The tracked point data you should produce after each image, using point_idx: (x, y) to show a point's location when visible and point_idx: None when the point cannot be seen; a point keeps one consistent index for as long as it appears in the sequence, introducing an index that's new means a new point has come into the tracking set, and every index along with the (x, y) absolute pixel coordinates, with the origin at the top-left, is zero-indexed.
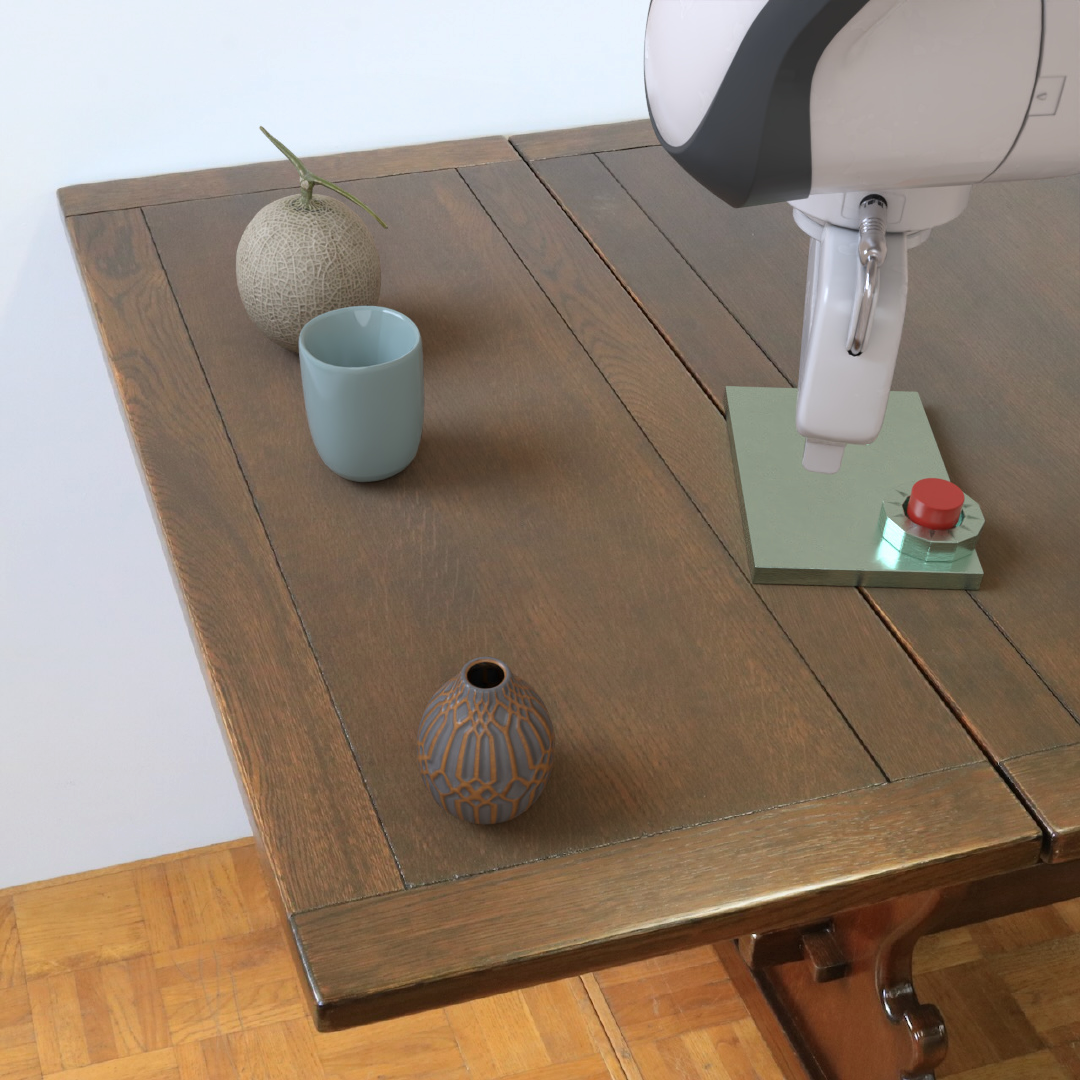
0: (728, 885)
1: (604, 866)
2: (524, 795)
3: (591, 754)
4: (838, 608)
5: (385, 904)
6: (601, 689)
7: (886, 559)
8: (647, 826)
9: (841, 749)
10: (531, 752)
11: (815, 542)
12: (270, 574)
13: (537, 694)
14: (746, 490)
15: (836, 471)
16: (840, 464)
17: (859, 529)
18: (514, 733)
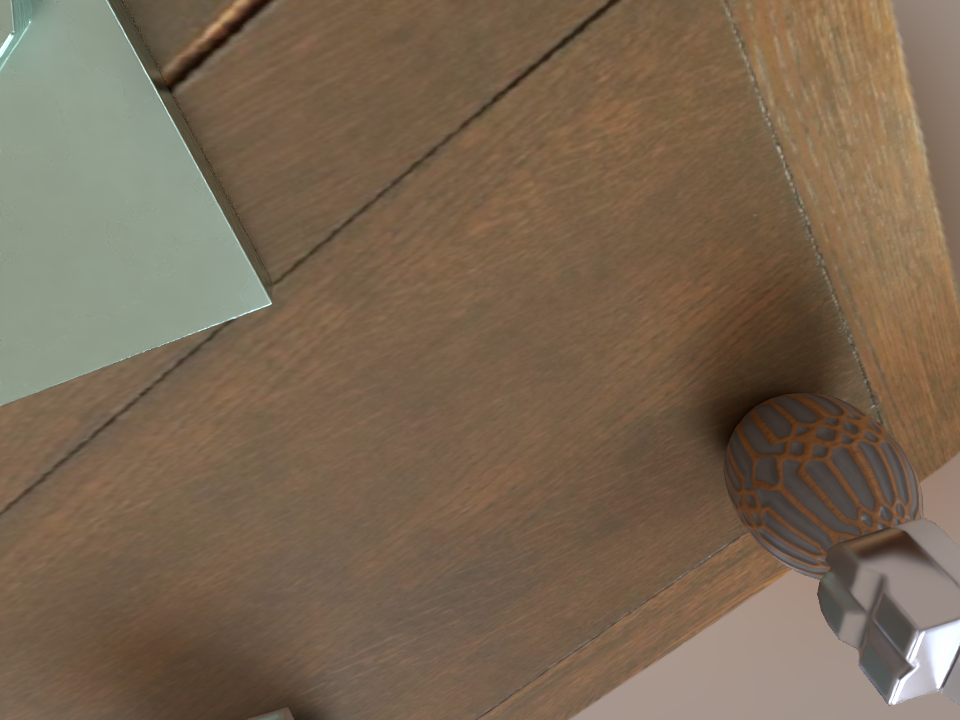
0: (895, 143)
1: (864, 287)
2: (876, 421)
3: (702, 360)
4: (261, 113)
5: (901, 441)
6: (591, 391)
7: (84, 49)
8: (807, 264)
9: (637, 34)
10: (898, 461)
11: (125, 219)
12: (506, 707)
13: (829, 500)
14: (32, 386)
15: (926, 521)
16: (950, 538)
17: (5, 136)
18: (913, 498)
